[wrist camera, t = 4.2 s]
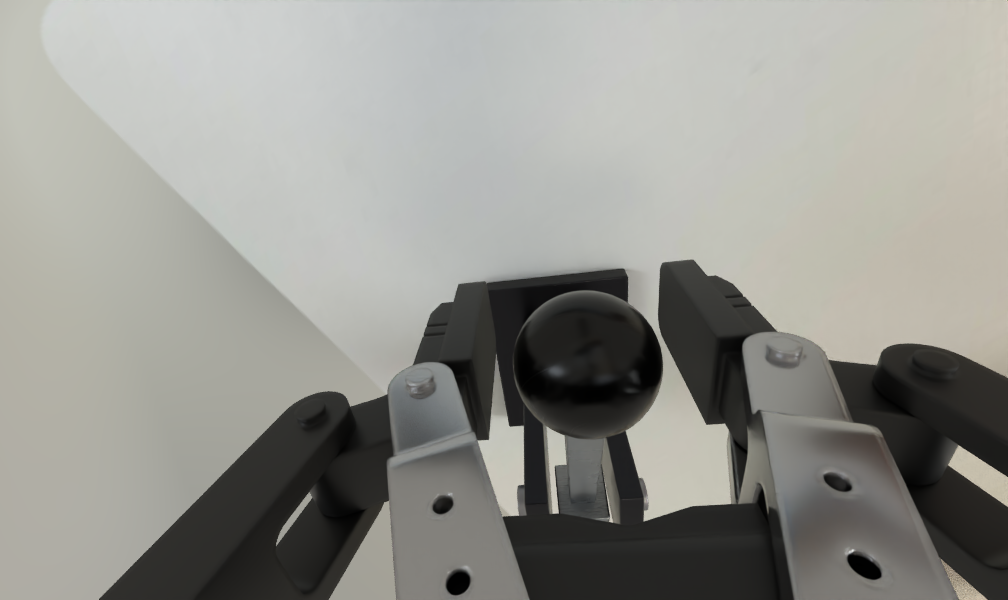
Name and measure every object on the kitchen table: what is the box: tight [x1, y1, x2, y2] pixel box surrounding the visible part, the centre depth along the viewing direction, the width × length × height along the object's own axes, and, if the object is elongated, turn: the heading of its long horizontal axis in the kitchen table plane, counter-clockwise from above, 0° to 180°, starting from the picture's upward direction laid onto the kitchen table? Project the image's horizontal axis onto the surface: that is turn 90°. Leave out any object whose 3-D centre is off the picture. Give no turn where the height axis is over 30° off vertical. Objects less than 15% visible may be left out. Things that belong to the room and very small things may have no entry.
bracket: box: [487, 269, 648, 525], centre depth 25 cm, size 12×9×14 cm
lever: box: [513, 290, 663, 522], centre depth 15 cm, size 17×3×3 cm, turn 8°
